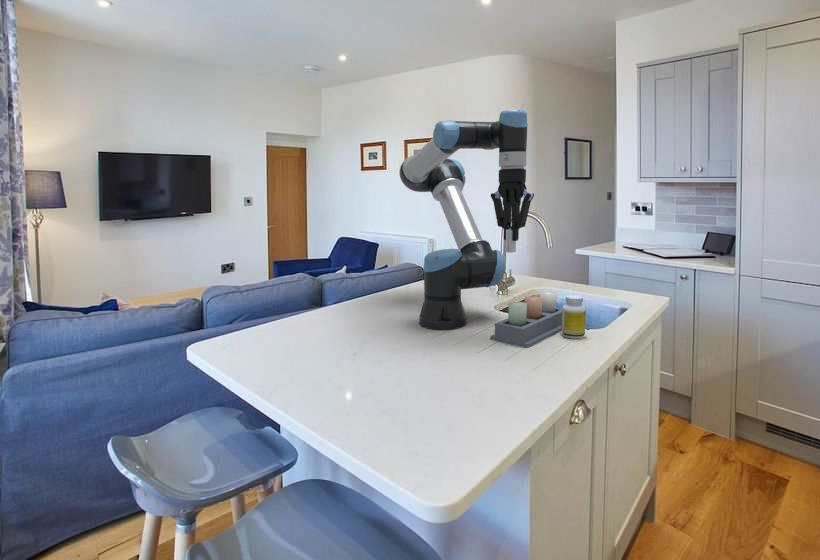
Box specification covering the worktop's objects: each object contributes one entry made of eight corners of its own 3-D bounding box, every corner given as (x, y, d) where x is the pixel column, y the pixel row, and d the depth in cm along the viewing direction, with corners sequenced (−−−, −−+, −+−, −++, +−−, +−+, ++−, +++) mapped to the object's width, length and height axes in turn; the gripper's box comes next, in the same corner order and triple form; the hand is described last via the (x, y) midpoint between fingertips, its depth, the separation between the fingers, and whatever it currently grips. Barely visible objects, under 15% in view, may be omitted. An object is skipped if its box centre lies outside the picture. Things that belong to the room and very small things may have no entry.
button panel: (490, 339, 144) (490, 322, 143) (536, 319, 163) (536, 304, 162) (527, 347, 136) (528, 330, 135) (571, 325, 155) (572, 310, 154)
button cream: (536, 312, 155) (536, 293, 154) (543, 308, 159) (544, 290, 158) (551, 314, 152) (551, 295, 151) (558, 311, 155) (559, 292, 154)
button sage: (504, 324, 142) (505, 304, 141) (514, 321, 146) (514, 300, 145) (520, 327, 139) (520, 306, 138) (529, 324, 142) (530, 303, 141)
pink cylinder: (521, 318, 149) (521, 298, 147) (529, 314, 152) (530, 295, 151) (536, 320, 145) (537, 300, 144) (544, 317, 149) (545, 297, 148)
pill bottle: (586, 339, 142) (588, 299, 140) (562, 338, 143) (563, 299, 141) (583, 333, 148) (584, 294, 146) (560, 332, 149) (561, 294, 147)
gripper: (484, 168, 142) (484, 251, 146) (526, 167, 133) (524, 255, 137) (499, 169, 147) (498, 248, 152) (540, 167, 138) (538, 252, 143)
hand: (510, 251), depth 145 cm, fingers closed
